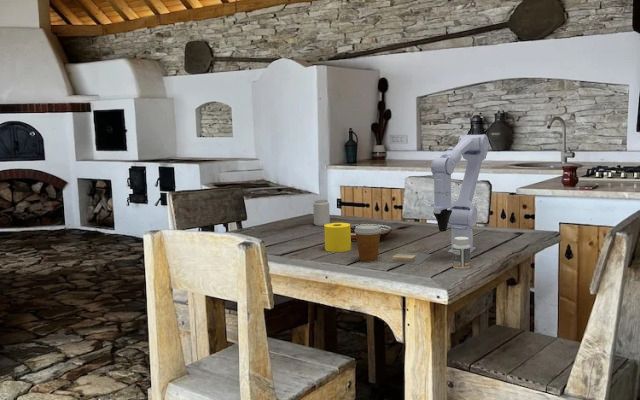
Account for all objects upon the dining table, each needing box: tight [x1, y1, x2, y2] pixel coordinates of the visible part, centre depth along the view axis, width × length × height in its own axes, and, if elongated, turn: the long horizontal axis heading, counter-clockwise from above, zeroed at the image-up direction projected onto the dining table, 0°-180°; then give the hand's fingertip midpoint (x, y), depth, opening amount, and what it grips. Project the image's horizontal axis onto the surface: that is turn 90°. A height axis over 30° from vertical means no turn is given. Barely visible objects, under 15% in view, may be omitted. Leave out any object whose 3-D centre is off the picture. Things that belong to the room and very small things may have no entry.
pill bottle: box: [452, 237, 472, 270], centre depth 201 cm, size 6×6×10 cm
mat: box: [385, 251, 433, 266], centre depth 216 cm, size 16×12×1 cm
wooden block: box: [391, 253, 416, 263], centre depth 212 cm, size 2×7×5 cm
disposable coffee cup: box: [354, 223, 382, 263], centre depth 216 cm, size 10×10×12 cm
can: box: [312, 199, 331, 227], centre depth 290 cm, size 8×8×12 cm
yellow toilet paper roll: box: [323, 222, 352, 253], centre depth 236 cm, size 10×10×9 cm
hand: (442, 231), depth 214 cm, fingers closed
